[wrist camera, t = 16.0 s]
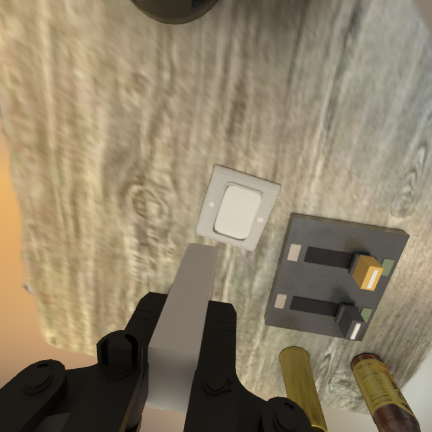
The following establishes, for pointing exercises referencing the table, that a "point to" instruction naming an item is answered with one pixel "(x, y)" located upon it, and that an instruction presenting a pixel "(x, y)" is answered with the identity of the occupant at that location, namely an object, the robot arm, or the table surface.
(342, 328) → the lever
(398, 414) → the sauce bottle
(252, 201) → the light switch
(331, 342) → the table surface
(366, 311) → the breaker panel
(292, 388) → the vase
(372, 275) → the lever
